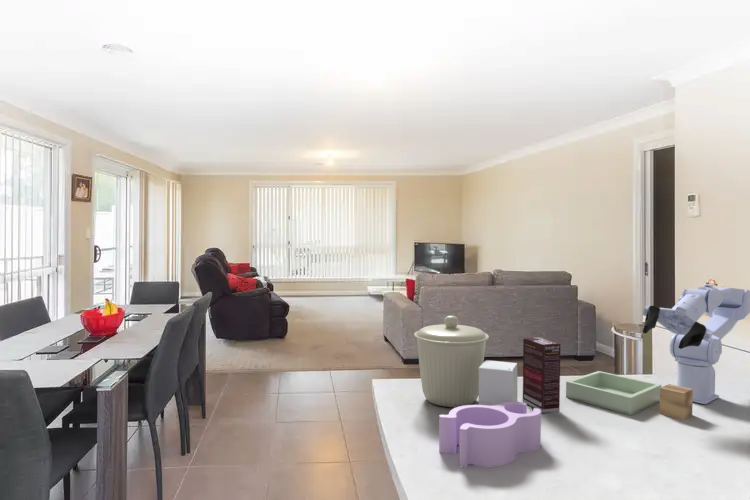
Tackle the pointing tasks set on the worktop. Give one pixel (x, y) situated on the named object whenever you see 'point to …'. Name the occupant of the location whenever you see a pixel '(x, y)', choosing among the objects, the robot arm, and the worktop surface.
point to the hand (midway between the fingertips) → (662, 336)
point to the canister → (450, 362)
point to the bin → (613, 392)
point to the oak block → (676, 401)
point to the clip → (490, 432)
